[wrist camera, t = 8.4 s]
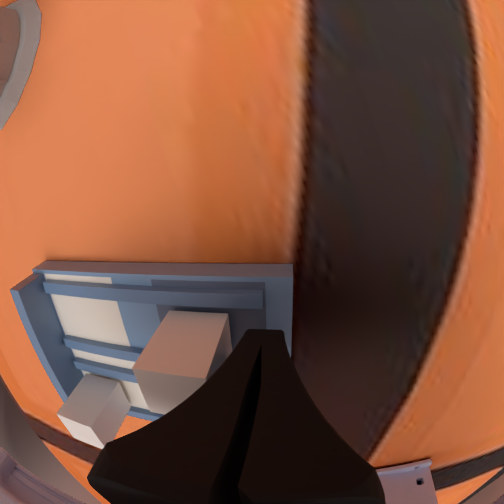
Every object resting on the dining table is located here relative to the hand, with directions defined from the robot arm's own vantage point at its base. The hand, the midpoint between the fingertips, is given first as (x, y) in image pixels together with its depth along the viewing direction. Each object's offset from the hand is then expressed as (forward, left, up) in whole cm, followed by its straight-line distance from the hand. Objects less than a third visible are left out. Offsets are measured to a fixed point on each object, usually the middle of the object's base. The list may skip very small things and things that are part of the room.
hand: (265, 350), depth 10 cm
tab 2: (+3, 0, -1) cm, 3 cm away
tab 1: (+9, +5, -1) cm, 11 cm away
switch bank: (+5, +3, -2) cm, 6 cm away
